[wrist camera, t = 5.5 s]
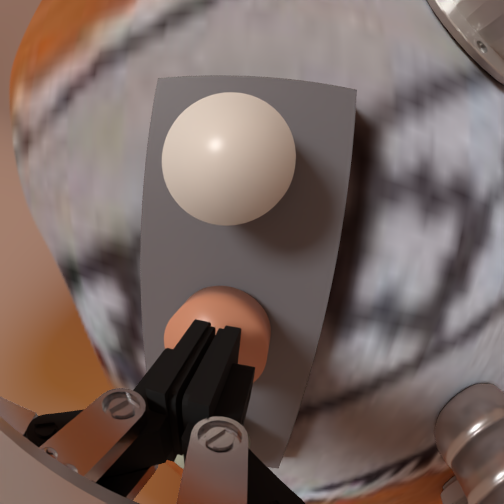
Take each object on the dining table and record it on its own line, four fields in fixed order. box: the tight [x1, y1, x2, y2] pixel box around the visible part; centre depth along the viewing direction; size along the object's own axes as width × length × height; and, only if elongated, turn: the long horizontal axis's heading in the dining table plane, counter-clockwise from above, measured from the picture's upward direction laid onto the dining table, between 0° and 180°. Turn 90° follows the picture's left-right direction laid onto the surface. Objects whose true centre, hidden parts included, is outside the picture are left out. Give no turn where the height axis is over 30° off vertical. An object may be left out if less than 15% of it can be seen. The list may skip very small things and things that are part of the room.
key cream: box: [162, 92, 296, 226], centre depth 10 cm, size 4×4×2 cm
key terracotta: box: [164, 286, 271, 382], centre depth 12 cm, size 4×4×2 cm
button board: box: [141, 76, 357, 468], centre depth 14 cm, size 9×23×2 cm, turn 173°
